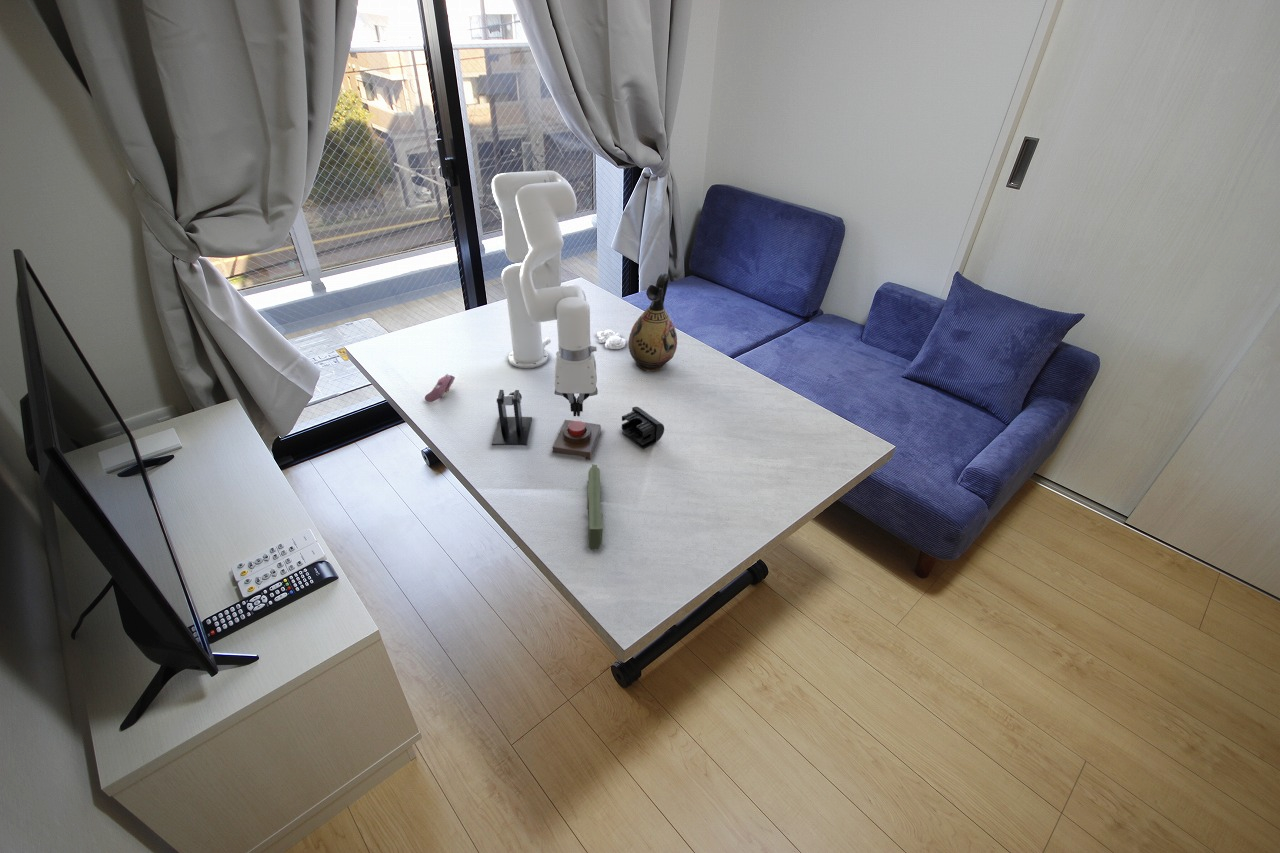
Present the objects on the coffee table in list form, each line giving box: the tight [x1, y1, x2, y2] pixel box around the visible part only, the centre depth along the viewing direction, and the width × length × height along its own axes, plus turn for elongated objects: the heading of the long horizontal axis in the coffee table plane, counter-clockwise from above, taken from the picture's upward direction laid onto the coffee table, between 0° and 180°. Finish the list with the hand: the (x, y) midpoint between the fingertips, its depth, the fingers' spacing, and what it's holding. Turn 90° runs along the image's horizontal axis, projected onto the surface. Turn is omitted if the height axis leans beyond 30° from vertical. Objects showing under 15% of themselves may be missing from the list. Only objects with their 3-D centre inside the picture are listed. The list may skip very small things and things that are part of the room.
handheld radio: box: [586, 463, 604, 551], centre depth 131 cm, size 7×3×25 cm
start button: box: [568, 420, 585, 436], centre depth 148 cm, size 4×4×2 cm
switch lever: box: [504, 390, 523, 406], centre depth 152 cm, size 13×4×4 cm, turn 2°
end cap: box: [621, 406, 665, 450], centre depth 153 cm, size 10×7×7 cm
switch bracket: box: [491, 389, 533, 446], centre depth 149 cm, size 12×9×13 cm
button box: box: [551, 419, 602, 461], centre depth 150 cm, size 12×10×4 cm
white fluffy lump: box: [596, 329, 627, 350], centre depth 194 cm, size 9×12×3 cm
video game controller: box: [424, 373, 456, 403], centre depth 164 cm, size 10×5×7 cm, turn 168°
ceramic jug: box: [627, 272, 678, 373], centre depth 176 cm, size 17×15×30 cm
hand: (576, 413), depth 145 cm, fingers closed
